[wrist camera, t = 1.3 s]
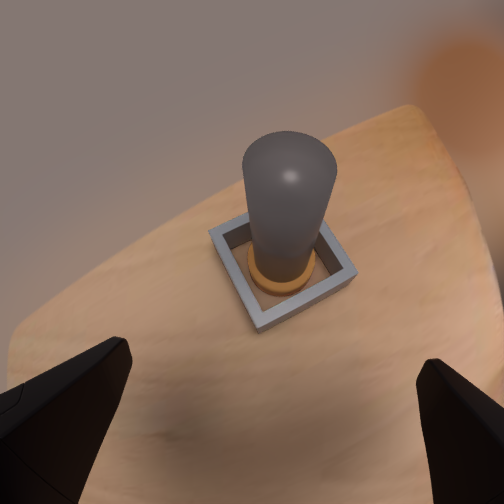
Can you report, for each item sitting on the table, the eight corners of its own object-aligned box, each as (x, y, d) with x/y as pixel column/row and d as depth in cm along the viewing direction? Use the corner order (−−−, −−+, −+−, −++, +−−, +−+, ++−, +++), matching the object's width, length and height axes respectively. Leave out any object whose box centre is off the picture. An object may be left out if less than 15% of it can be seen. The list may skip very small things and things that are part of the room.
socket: (258, 333, 21) (257, 328, 18) (214, 247, 24) (207, 230, 21) (347, 285, 22) (358, 272, 19) (298, 207, 25) (301, 188, 22)
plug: (267, 307, 22) (265, 235, 10) (238, 254, 24) (212, 147, 12) (323, 278, 22) (371, 185, 11) (292, 228, 24) (306, 113, 13)
